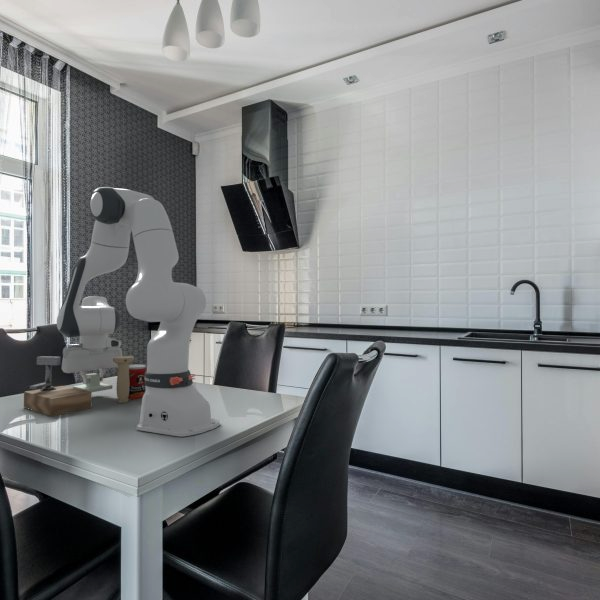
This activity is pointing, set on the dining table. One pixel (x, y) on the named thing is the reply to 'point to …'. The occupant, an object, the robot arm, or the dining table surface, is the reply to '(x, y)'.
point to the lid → (94, 384)
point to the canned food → (137, 381)
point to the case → (57, 400)
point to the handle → (123, 377)
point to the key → (48, 362)
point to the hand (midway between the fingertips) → (93, 382)
